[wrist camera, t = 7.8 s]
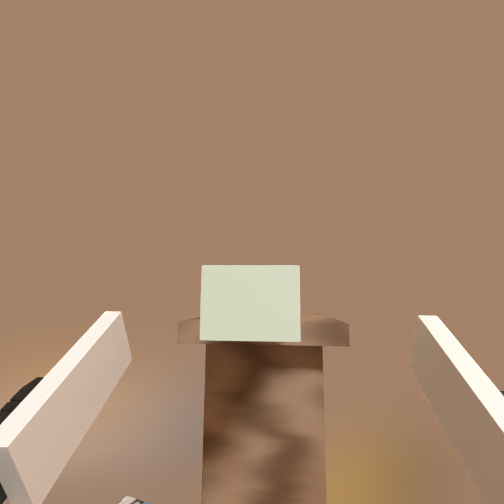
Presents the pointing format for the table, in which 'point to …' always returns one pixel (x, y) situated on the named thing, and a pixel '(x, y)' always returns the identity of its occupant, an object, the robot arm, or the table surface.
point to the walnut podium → (265, 415)
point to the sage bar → (250, 303)
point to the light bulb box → (130, 501)
